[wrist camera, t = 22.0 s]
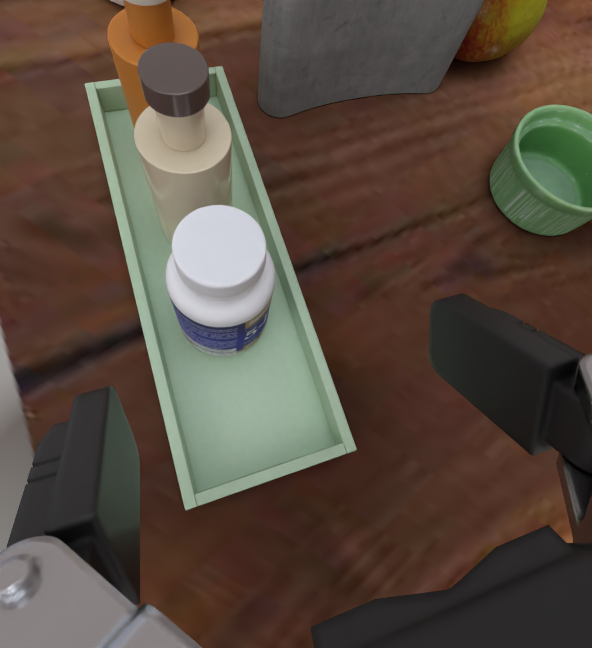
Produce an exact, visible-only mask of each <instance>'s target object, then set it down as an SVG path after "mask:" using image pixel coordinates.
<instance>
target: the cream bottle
mask: <svg viewBox="0 0 592 648" xmlns="http://www.w3.org/2000/svg"><path fill="white" fill-rule="evenodd" d="M137 70H138V75H139V79H140V83H141V87H142V91H143V95H144V98H145V100H146V102H147V103H148V105H149V107H147V108H146V109H145V110H144V111H143V112H142V113H141V115H140V116H139V118H138V119H137V121H136V124H135V128H134V141H135V145H136V148H137V151H138V154H139V158H140V161H141V164H142V167H143V171H144V174H145V177H146V180H147V184H148V187H149V190H150V193H151V197H152V200H153V203H154V206H155V210H156V213H157V216H158V220H159V223H160V226H161V229H162V232H163V235H164V236H165V238H166V239H167V241H168V242H169V243H170V244H171V245H172V239H173V235H174V232H175V230H176V228H177V226H178V225H179V223H180V222H181V221H182V220H183V219H184V218H185V217H186V216H187V215H188V214H190V213H191V212H193V211H195V210H197V209H199V208H202V207H205V206H210V205H226V206H231V207H233V205H232V133H231V129H230V126H229V123H228V121H227V120H226V118H225V117H224V115H223V114H222V113H221V112H220V111H219V110H218V109H217V108H215V107H214V106H212V105H211V104H209V103H208V101H209V98H210V81H209V67H208V64H207V62H206V60H205V58H204V57H203V56H202V54H201V53H199V52H198V51H197V50H196V49H194V48H192V47H190V46H188V45H185V44H181V43H175V42H166V43H160V44H157V45H154V46H152V47H150V48H148V49H147V50H146V51H145V52H144V53H143V54H142V55H141V57H140V58H139V61H138V65H137Z"/></svg>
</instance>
